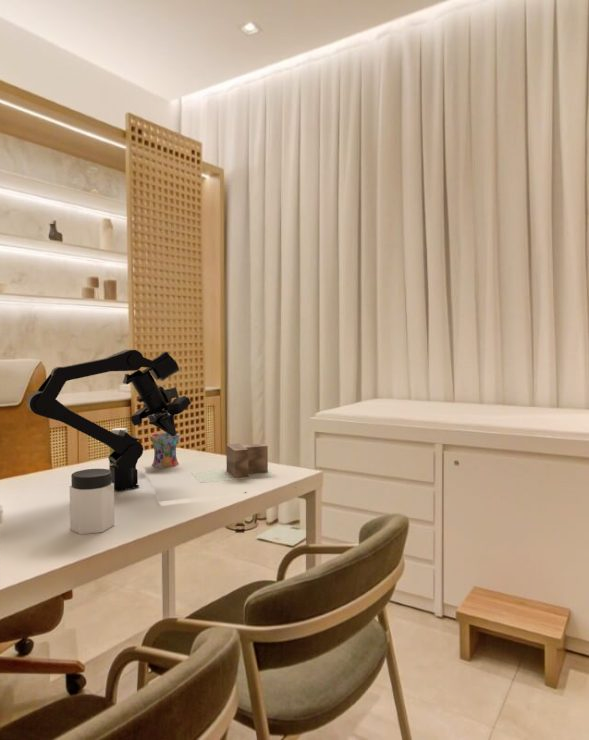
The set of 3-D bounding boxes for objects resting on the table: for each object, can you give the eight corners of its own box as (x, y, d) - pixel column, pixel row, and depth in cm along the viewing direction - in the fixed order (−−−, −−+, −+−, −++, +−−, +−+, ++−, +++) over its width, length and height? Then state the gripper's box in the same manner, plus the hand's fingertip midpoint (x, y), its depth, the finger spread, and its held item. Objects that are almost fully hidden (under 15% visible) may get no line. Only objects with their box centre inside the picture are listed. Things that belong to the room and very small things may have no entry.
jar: (120, 527, 116) (119, 472, 115) (84, 537, 110) (83, 479, 109) (100, 518, 122) (99, 466, 121) (65, 527, 116) (63, 472, 116)
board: (199, 486, 150) (199, 482, 150) (191, 475, 162) (191, 472, 162) (276, 478, 158) (276, 475, 158) (262, 469, 170) (262, 466, 170)
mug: (175, 471, 168) (174, 437, 167) (146, 471, 168) (145, 437, 168) (185, 463, 180) (185, 431, 179) (158, 462, 180) (158, 431, 180)
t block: (235, 478, 155) (234, 450, 155) (226, 470, 164) (226, 444, 164) (271, 474, 159) (271, 447, 158) (260, 467, 168) (260, 442, 168)
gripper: (187, 368, 154) (212, 414, 158) (140, 383, 162) (165, 426, 167) (166, 387, 144) (193, 435, 149) (118, 402, 153) (145, 446, 158)
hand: (174, 435), depth 156 cm, fingers closed
